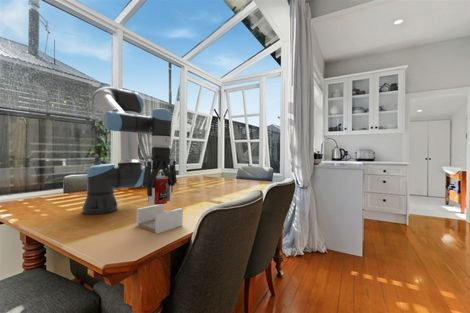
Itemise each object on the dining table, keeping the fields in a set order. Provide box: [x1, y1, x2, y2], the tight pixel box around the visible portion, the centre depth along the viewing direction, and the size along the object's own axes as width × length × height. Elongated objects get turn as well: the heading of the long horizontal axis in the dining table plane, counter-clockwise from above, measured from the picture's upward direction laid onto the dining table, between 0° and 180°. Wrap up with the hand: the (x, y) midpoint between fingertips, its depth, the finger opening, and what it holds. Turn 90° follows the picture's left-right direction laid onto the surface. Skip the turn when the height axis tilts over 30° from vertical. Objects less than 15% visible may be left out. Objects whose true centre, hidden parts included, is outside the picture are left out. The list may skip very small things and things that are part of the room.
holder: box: [135, 204, 184, 234], centre depth 91 cm, size 14×12×7 cm
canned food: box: [147, 175, 169, 205], centre depth 91 cm, size 8×8×11 cm
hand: (160, 202), depth 91 cm, fingers closed on canned food, 8 cm apart
